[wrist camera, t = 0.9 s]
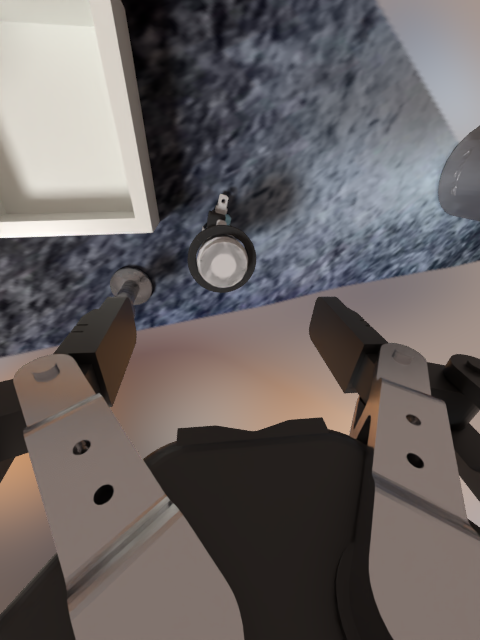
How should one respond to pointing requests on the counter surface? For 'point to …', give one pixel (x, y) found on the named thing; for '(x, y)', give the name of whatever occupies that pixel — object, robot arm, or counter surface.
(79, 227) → the bin
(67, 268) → the counter surface
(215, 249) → the push button
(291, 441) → the robot arm
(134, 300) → the ball stud post
